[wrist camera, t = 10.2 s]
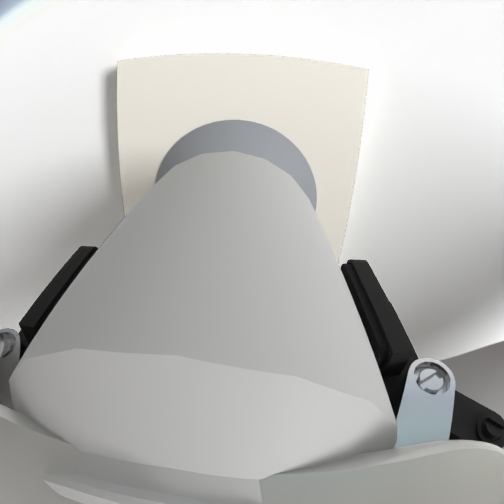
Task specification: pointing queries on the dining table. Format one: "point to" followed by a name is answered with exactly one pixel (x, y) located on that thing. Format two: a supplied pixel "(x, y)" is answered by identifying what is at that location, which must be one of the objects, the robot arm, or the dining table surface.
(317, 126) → the tile
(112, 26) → the dining table surface
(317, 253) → the can
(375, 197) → the dining table surface
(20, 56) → the dining table surface
